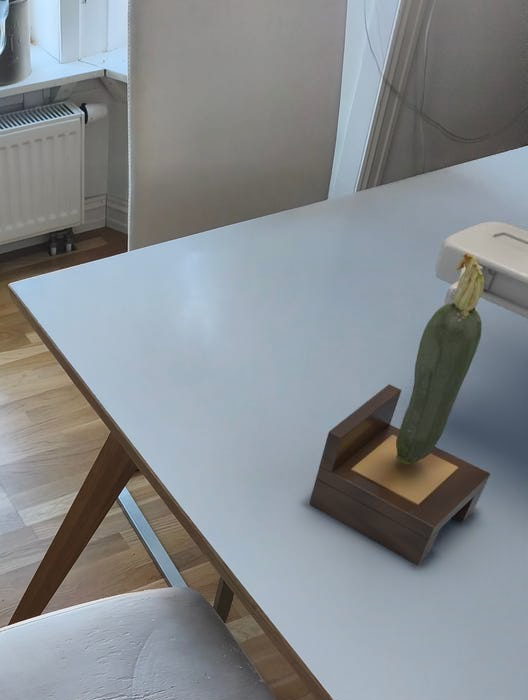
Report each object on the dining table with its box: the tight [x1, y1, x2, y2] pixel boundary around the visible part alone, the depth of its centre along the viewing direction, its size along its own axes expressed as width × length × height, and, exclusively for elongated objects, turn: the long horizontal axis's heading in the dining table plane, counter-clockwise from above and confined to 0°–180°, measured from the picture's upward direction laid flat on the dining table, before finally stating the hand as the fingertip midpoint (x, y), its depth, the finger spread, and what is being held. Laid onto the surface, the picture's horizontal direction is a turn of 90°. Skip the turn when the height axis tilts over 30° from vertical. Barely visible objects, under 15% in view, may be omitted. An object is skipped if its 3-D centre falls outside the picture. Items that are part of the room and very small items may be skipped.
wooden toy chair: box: [308, 383, 491, 566], centre depth 82 cm, size 12×10×9 cm
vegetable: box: [396, 253, 484, 464], centre depth 74 cm, size 4×4×20 cm
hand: (500, 320), depth 75 cm, fingers open, 8 cm apart
